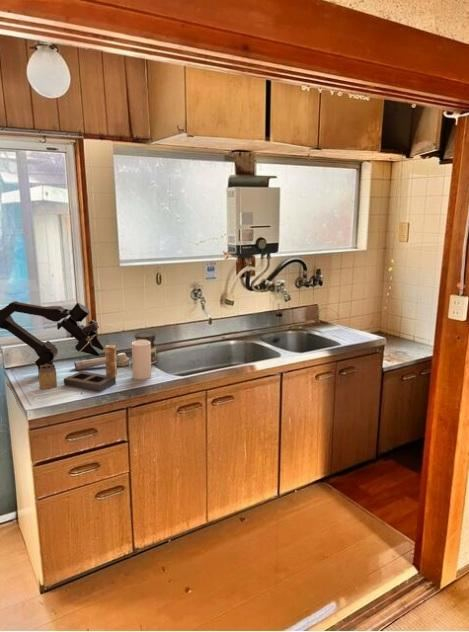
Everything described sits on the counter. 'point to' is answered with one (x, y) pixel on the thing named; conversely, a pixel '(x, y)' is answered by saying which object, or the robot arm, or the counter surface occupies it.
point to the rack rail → (90, 381)
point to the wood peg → (111, 360)
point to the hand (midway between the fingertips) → (101, 352)
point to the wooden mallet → (101, 362)
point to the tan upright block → (47, 377)
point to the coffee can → (150, 337)
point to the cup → (141, 359)
